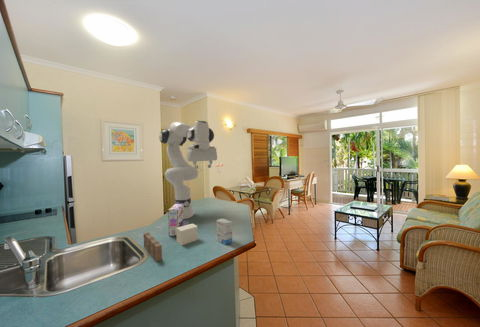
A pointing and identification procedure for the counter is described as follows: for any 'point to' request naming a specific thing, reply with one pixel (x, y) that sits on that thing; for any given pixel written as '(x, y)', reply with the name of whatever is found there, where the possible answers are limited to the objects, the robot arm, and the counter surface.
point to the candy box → (175, 218)
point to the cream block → (187, 234)
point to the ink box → (224, 231)
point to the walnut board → (153, 246)
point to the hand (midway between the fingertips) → (203, 168)
